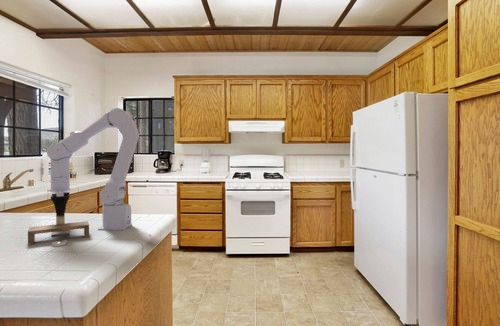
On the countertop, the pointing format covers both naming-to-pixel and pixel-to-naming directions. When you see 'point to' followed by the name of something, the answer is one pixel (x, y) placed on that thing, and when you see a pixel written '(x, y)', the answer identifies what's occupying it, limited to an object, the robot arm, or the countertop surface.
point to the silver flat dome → (59, 243)
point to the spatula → (60, 221)
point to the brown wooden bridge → (57, 229)
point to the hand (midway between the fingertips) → (60, 213)
